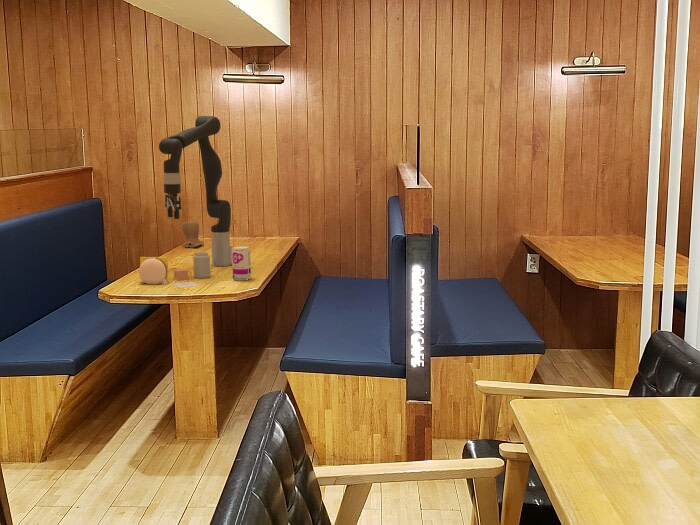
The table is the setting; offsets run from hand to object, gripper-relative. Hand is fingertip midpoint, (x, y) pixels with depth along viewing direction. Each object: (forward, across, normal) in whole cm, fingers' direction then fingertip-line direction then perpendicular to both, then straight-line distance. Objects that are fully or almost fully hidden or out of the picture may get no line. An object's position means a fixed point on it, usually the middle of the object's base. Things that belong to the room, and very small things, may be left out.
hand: (173, 218), depth 362 cm
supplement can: (+28, -20, -24) cm, 42 cm away
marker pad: (+28, -20, +2) cm, 35 cm away
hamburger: (+28, -9, +14) cm, 33 cm away
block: (+28, -7, 0) cm, 29 cm away
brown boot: (+28, +87, -42) cm, 101 cm away
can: (+28, -7, -10) cm, 31 cm away
